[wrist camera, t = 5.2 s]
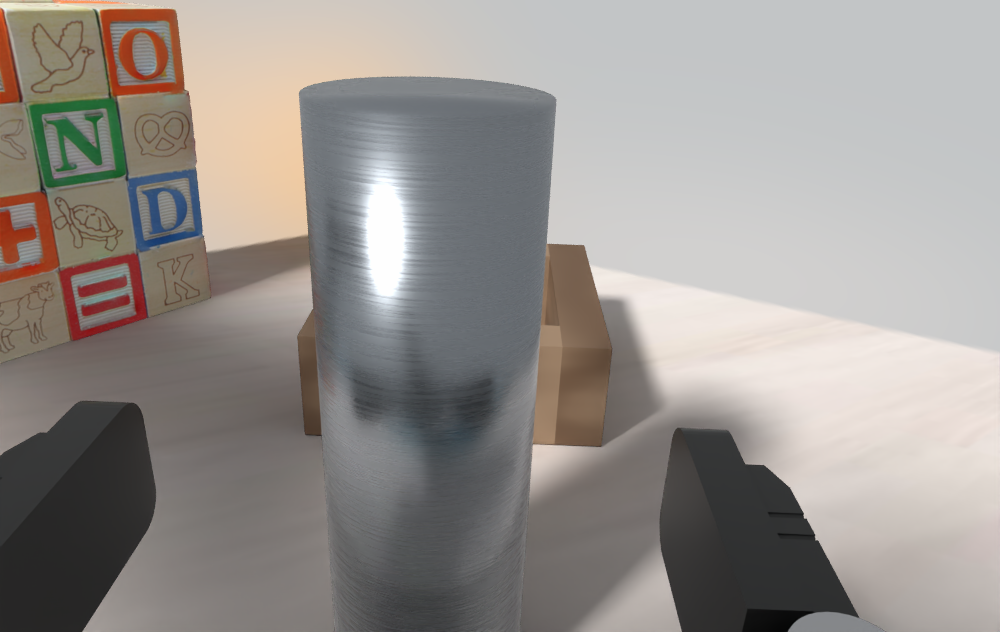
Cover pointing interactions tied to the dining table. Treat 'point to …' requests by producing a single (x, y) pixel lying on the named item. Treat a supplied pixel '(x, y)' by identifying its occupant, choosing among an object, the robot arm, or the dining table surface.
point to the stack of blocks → (94, 172)
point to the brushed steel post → (427, 341)
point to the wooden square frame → (562, 356)
